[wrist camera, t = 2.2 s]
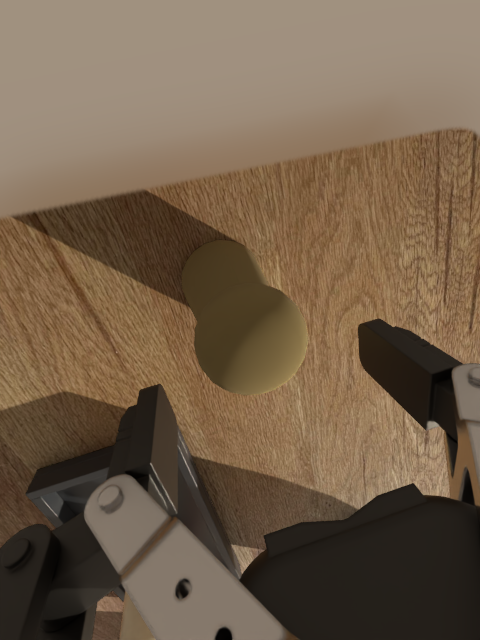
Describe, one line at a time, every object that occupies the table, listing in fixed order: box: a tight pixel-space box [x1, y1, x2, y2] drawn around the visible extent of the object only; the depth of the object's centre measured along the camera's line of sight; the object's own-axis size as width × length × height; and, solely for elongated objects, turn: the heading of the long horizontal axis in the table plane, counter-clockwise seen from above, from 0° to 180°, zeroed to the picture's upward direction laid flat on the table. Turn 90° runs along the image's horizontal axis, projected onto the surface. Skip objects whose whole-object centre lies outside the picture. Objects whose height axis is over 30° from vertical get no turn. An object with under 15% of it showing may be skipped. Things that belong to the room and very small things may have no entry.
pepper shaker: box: [181, 240, 308, 395], centre depth 17 cm, size 6×6×11 cm
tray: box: [26, 425, 242, 602], centre depth 31 cm, size 26×13×2 cm, turn 13°
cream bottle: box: [119, 591, 155, 640], centre depth 25 cm, size 5×5×14 cm
